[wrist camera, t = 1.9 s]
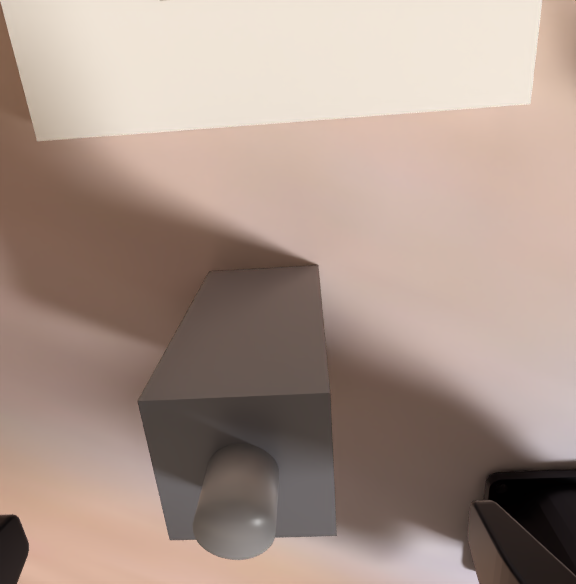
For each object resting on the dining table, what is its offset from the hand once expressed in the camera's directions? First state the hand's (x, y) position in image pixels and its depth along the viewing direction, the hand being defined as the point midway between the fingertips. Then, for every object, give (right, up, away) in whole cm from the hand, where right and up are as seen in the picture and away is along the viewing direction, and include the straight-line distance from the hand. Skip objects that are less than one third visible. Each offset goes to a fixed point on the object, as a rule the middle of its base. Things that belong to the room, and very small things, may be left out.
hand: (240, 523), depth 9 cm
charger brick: (0, +4, +9) cm, 9 cm away
